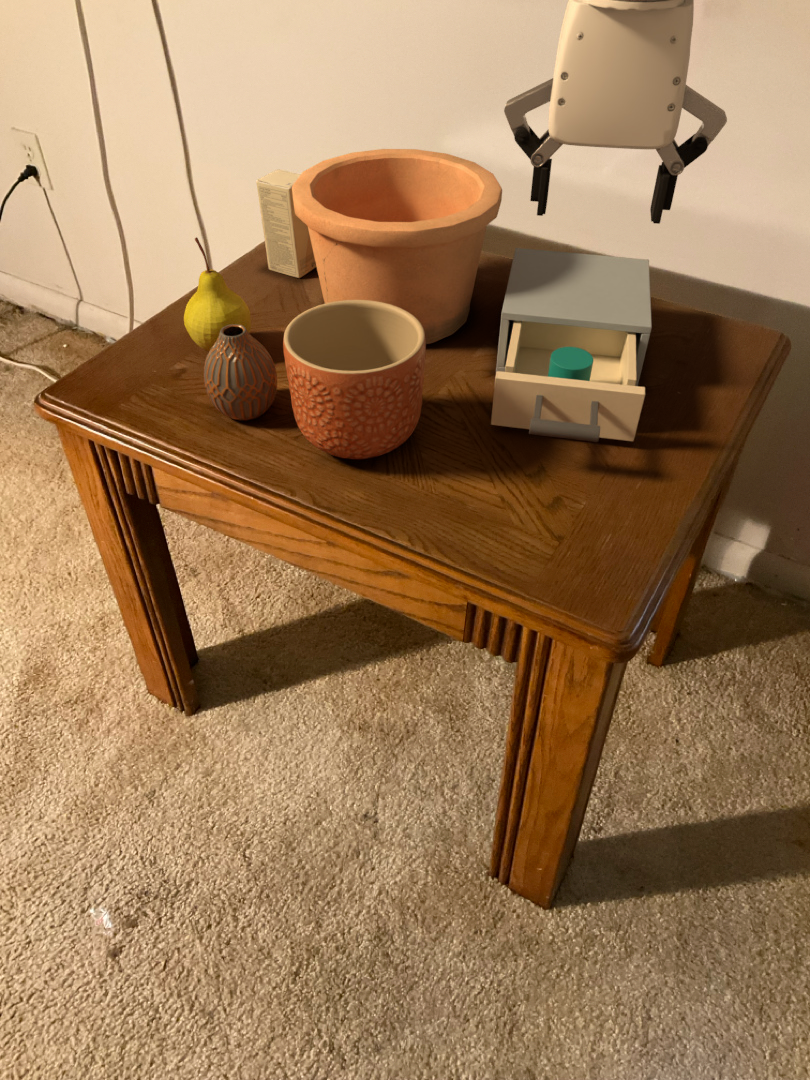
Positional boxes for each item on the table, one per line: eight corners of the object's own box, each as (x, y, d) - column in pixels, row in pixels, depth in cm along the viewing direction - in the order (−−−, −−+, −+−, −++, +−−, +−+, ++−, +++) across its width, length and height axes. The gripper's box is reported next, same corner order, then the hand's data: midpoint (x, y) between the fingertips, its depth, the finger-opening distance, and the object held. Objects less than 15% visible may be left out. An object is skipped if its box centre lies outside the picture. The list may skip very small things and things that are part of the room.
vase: (245, 438, 78) (232, 359, 72) (195, 412, 81) (179, 333, 75) (295, 405, 82) (286, 326, 76) (245, 381, 85) (233, 304, 79)
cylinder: (587, 384, 81) (594, 348, 78) (586, 407, 78) (593, 371, 76) (547, 379, 82) (552, 344, 79) (544, 402, 79) (549, 366, 76)
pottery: (497, 362, 87) (510, 231, 77) (292, 360, 88) (277, 229, 78) (487, 268, 103) (496, 148, 93) (312, 266, 103) (302, 146, 93)
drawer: (633, 477, 73) (646, 429, 69) (484, 458, 75) (488, 410, 71) (632, 363, 86) (643, 318, 82) (505, 350, 88) (509, 305, 84)
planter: (388, 492, 73) (387, 388, 65) (268, 454, 76) (254, 351, 69) (443, 417, 81) (448, 316, 73) (333, 386, 84) (326, 287, 77)
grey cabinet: (637, 388, 84) (651, 327, 79) (495, 373, 86) (501, 312, 81) (635, 317, 94) (649, 259, 89) (509, 305, 96) (515, 247, 91)
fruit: (264, 355, 88) (250, 248, 80) (205, 373, 86) (183, 265, 77) (239, 327, 93) (223, 222, 84) (181, 343, 90) (159, 237, 82)
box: (320, 266, 103) (313, 176, 95) (299, 279, 101) (290, 188, 93) (286, 255, 105) (277, 167, 97) (265, 269, 103) (254, 178, 95)
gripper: (754, -31, 60) (698, 203, 72) (518, -37, 63) (502, 190, 75) (767, -10, 55) (704, 239, 67) (509, -17, 57) (493, 224, 69)
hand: (597, 213), depth 71 cm, fingers open, 9 cm apart
